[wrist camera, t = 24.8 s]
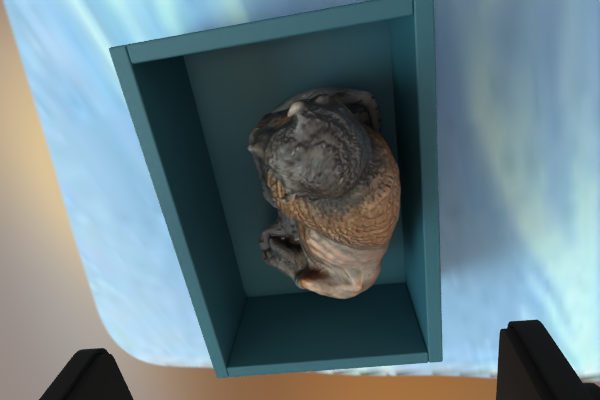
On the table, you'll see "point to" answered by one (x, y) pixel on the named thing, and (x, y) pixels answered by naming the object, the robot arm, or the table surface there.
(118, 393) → the robot arm
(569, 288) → the table surface
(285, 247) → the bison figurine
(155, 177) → the bin
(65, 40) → the table surface
